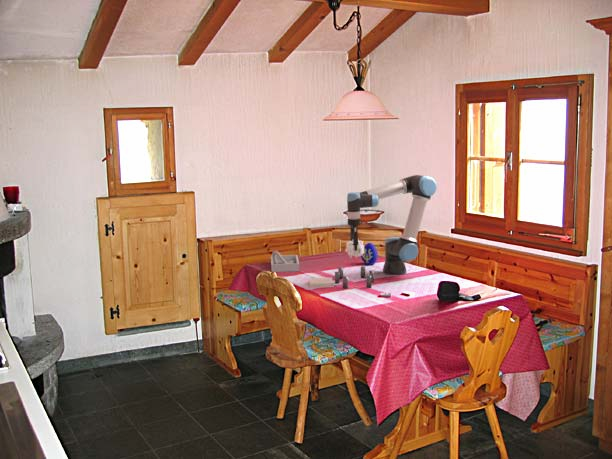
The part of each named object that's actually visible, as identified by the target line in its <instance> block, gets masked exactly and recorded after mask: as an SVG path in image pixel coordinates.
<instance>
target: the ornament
mask: <svg viewBox="0 0 612 459" xmlns="http://www.w3.org/2000/svg"><path fill="white" fill-rule="evenodd" d="M360 257H361V261H362V262H363V263H364V264H366V265H369V266H370V265H374V264H375V263H376V262H377V260H378V258H379V254H378V251H377V248H376V246H375V245H374V244H373V243H372V242H367V243H366V244H364V253H363V255H362V256H360Z"/></svg>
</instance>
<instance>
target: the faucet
mask: <svg viewBox="0 0 612 459" xmlns="http://www.w3.org/2000/svg"><path fill="white" fill-rule="evenodd" d="M271 254H272V255H271V256H272V257H273V260H274V263H273V264H279V263H278V262H277V259H276V256H278V257H279V259H280V260H281V261H282V263H281V264H293V263H295V262H294V261H293V260H291V261H289V262H286V261H285V260H284V259H283V257H282V256H281V255H282V254H281V253H280V252H279V251H278V250H273V251H272V253H271ZM289 260H290V259H289Z"/></svg>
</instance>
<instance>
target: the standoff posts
mask: <svg viewBox="0 0 612 459" xmlns="http://www.w3.org/2000/svg"><path fill="white" fill-rule="evenodd" d="M337 268H338V270H337V271H334V285H339V284H340V283H341V280H342V289H344V290H347V289H349V281H348V280H349V278H348V275H346V276H345V275H344V267H342V266H338V267H337ZM360 279H366V280H365V281H366V283H365V284H366V286H365V287H366V289H372V283H375V271H374V270H369V271H368V275H366V266H364V265H362V266H360Z"/></svg>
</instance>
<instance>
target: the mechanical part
mask: <svg viewBox="0 0 612 459" xmlns="http://www.w3.org/2000/svg"><path fill="white" fill-rule="evenodd" d="M352 244H353V240H352V241H351V240H350V241H346V243H345V245H346V248H344V252H346V253H347V255H348V256H349V258H350V259H352V258H353V257H355V259H358V258H360V257H361V256H362V255H363V253H364V246H365V244H364V241H363V240H360V239H359V238H358V256H353V245H352Z"/></svg>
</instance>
